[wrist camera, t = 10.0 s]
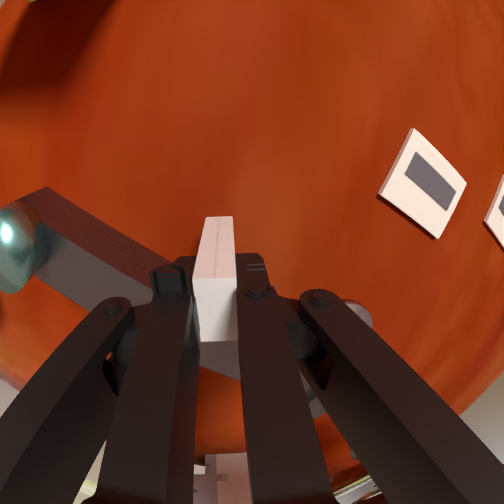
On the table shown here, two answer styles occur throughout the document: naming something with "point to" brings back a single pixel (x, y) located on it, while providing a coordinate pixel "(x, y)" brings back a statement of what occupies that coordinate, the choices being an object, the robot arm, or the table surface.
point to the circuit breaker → (223, 480)
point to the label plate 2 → (497, 214)
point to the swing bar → (91, 265)
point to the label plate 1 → (423, 184)
